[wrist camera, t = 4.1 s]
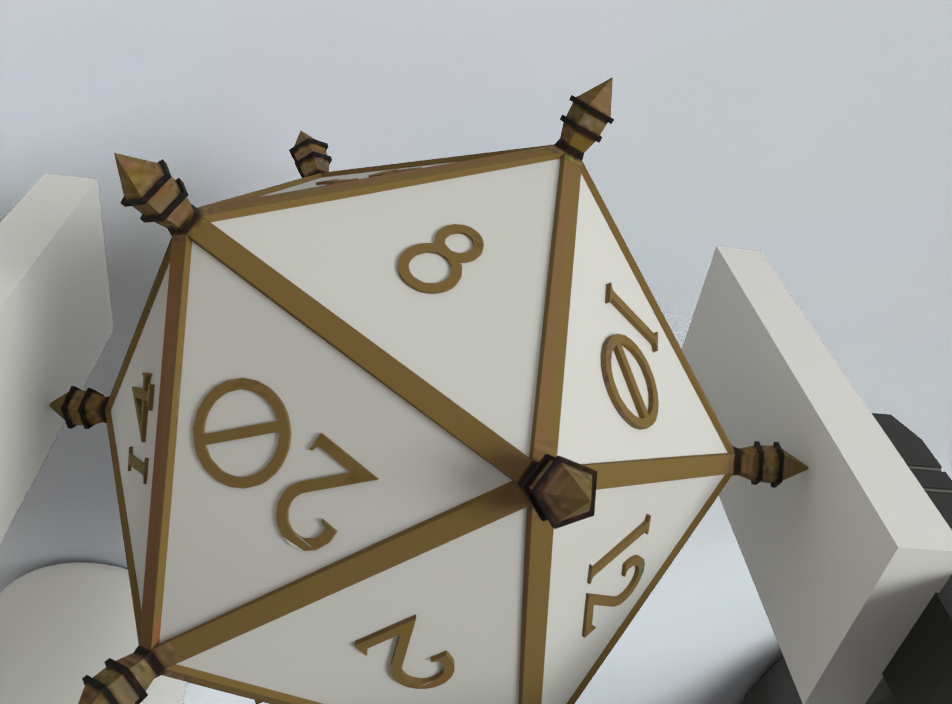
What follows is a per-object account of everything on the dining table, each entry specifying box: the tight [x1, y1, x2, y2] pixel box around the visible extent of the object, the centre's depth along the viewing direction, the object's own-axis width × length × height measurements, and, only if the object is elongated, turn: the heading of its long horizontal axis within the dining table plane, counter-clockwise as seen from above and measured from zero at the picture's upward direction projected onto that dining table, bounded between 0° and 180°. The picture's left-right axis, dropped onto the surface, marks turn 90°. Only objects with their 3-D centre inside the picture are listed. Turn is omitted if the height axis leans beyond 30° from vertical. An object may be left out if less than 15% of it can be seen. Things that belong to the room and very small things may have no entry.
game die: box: [49, 77, 808, 704], centre depth 11 cm, size 9×8×10 cm
